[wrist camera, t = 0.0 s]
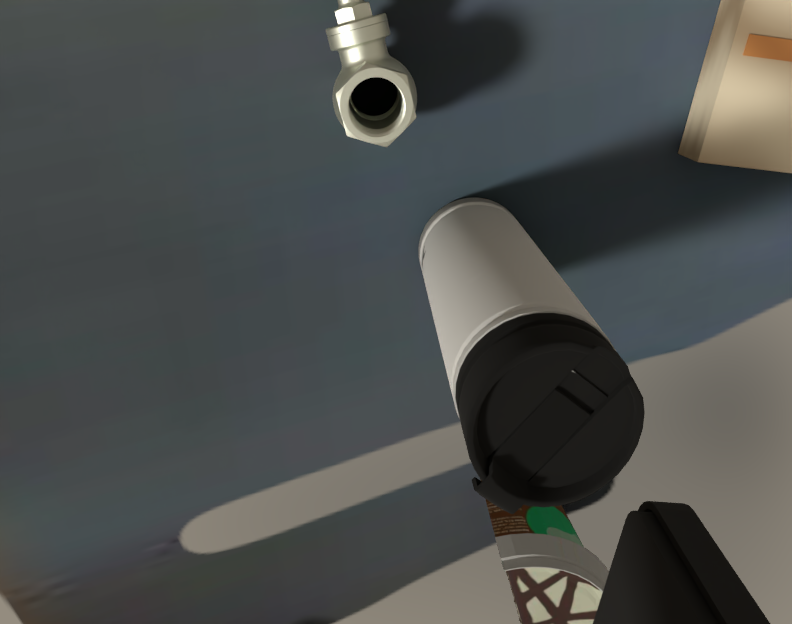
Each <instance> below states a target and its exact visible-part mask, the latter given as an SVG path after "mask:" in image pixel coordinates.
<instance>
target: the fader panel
mask: <svg viewBox="0 0 792 624" xmlns="http://www.w3.org/2000/svg"><path fill="white" fill-rule="evenodd" d="M678 154H680V155H682V156H685V157H687V158H689V159H692V160H694V161H696V162H701V163H710V164H718V165H726V166H735V167H743V168H751V169H760V170H768V171H777V172H785V173H792V0H721V2H720V6H719V9H718V13H717V16H716V20H715V23H714V27H713V30H712V34H711V38H710V41H709V45H708V48H707V52H706V55H705V59H704V62H703V66H702V70H701V73H700V77H699V80H698V84H697V87H696V91H695V94H694V98H693V101H692V105H691V109H690V112H689V116H688V119H687V123H686V126H685V130H684V133H683V137H682V140H681V144H680V148H679V151H678Z"/></svg>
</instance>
